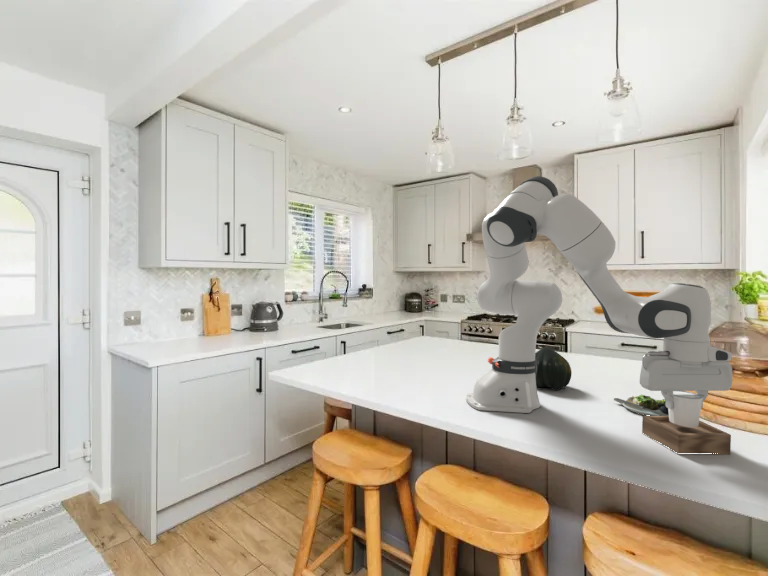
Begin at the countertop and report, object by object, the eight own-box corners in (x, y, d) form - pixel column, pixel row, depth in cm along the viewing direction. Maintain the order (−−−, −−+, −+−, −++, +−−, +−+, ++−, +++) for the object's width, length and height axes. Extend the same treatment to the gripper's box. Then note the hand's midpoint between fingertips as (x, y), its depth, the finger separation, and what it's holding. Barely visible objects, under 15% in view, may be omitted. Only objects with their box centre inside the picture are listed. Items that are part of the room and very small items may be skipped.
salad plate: (606, 410, 118) (607, 395, 118) (621, 397, 131) (621, 383, 131) (687, 428, 105) (688, 411, 105) (694, 411, 118) (695, 396, 118)
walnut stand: (678, 454, 88) (678, 435, 88) (642, 433, 100) (642, 415, 100) (730, 454, 89) (730, 434, 89) (688, 432, 101) (688, 415, 101)
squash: (554, 380, 130) (567, 343, 136) (514, 373, 142) (528, 339, 148) (569, 402, 137) (581, 366, 143) (530, 394, 148) (543, 360, 155)
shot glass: (685, 429, 90) (686, 399, 90) (658, 418, 97) (659, 390, 97) (709, 427, 92) (710, 397, 92) (681, 416, 98) (682, 389, 98)
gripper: (652, 353, 90) (650, 412, 91) (739, 353, 91) (736, 412, 91) (634, 348, 97) (632, 403, 97) (715, 348, 97) (713, 403, 98)
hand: (683, 408), depth 94 cm, fingers closed on shot glass, 5 cm apart
